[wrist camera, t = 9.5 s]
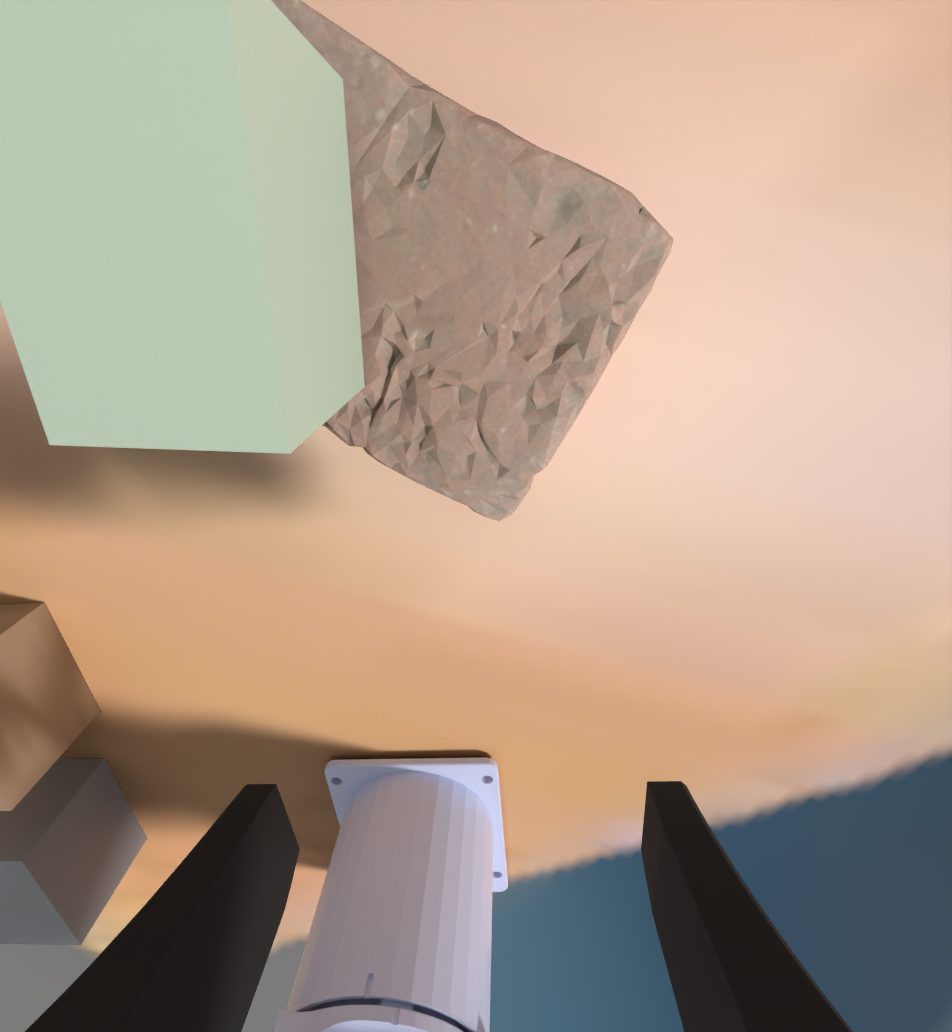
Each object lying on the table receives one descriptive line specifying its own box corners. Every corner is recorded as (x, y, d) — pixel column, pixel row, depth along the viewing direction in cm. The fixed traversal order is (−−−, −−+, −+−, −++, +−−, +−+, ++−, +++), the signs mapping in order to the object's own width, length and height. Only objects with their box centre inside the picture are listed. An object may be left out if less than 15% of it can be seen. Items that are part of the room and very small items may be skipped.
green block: (364, 387, 13) (290, 453, 9) (204, 381, 13) (49, 445, 9) (343, 79, 10) (219, -57, 6) (143, 77, 11) (-123, -57, 6)
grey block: (147, 836, 28) (80, 945, 24) (77, 836, 29) (-2, 943, 24) (106, 756, 26) (21, 861, 21) (29, 757, 26) (-70, 861, 22)
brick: (34, 239, 16) (-130, 232, 12) (75, -108, 13) (-134, -289, 9) (512, 475, 19) (515, 537, 15) (648, 238, 16) (704, 230, 11)
